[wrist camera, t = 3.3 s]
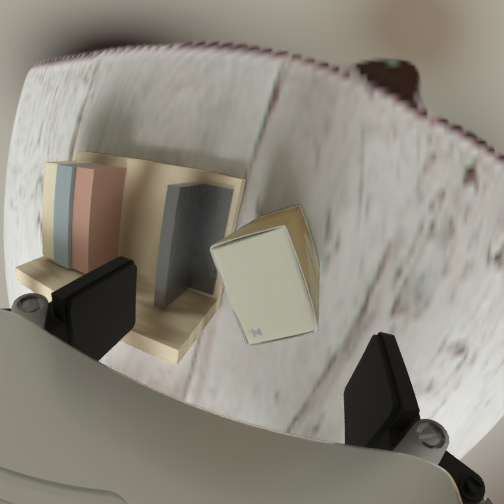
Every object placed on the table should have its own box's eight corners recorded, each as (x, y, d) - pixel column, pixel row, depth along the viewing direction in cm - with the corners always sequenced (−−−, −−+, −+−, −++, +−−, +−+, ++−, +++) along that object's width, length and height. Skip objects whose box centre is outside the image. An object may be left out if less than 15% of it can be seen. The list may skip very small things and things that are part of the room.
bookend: (234, 189, 25) (212, 194, 19) (213, 293, 28) (191, 319, 22) (197, 181, 25) (167, 184, 20) (181, 282, 28) (153, 305, 23)
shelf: (246, 179, 26) (202, 183, 16) (220, 306, 30) (176, 365, 20) (85, 151, 28) (15, 153, 18) (78, 254, 32) (17, 280, 22)
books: (126, 168, 26) (90, 170, 21) (117, 260, 29) (84, 276, 24) (79, 160, 27) (43, 162, 22) (73, 243, 30) (41, 255, 25)
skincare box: (321, 267, 26) (322, 337, 15) (277, 279, 27) (248, 352, 16) (300, 199, 25) (287, 222, 14) (254, 214, 26) (205, 247, 15)
